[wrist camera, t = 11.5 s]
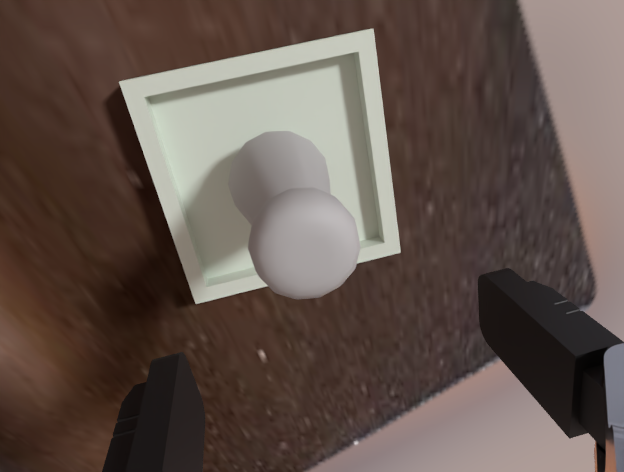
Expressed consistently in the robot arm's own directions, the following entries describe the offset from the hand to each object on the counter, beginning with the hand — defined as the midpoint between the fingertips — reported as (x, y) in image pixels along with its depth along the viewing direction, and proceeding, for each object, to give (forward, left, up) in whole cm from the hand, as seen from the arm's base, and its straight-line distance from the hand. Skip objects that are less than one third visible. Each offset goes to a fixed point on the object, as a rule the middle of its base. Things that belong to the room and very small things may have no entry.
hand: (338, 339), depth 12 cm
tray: (0, 0, -19) cm, 19 cm away
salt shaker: (0, 0, -18) cm, 18 cm away
